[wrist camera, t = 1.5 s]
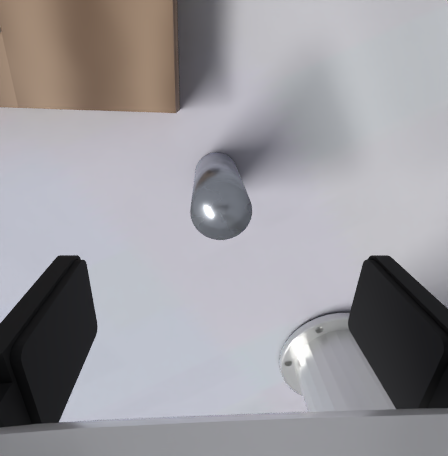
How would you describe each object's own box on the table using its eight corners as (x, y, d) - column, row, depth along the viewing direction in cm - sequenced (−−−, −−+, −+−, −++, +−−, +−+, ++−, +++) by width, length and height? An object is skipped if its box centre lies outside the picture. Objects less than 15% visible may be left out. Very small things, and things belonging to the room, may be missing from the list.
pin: (238, 152, 25) (254, 183, 17) (236, 194, 27) (249, 240, 19) (195, 151, 25) (190, 181, 17) (195, 193, 27) (190, 239, 19)
